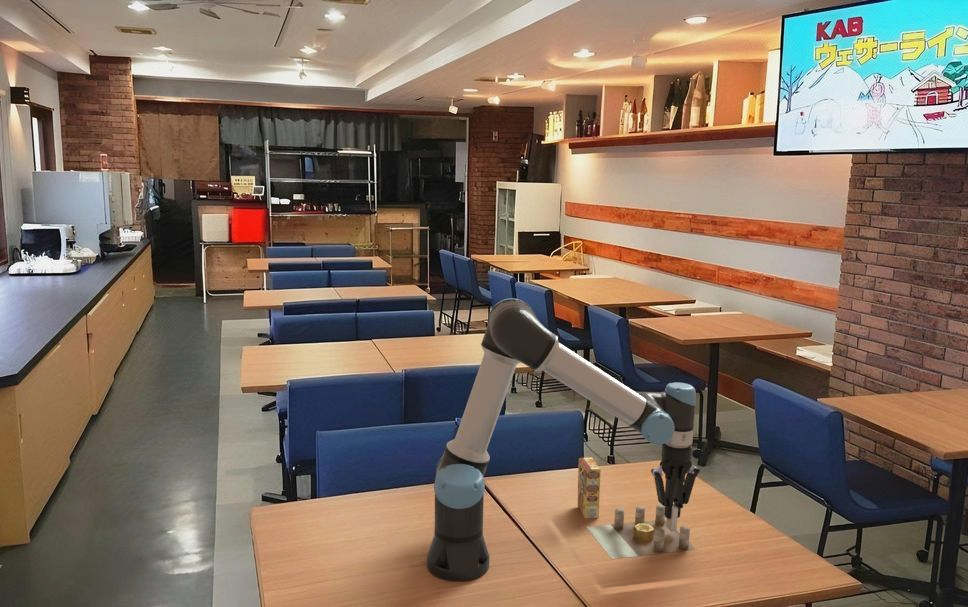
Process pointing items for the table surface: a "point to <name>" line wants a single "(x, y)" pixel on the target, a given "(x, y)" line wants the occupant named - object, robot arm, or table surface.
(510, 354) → the robot arm
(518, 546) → the table surface
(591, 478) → the candy box
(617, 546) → the board
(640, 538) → the wooden star polyhedron
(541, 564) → the table surface
